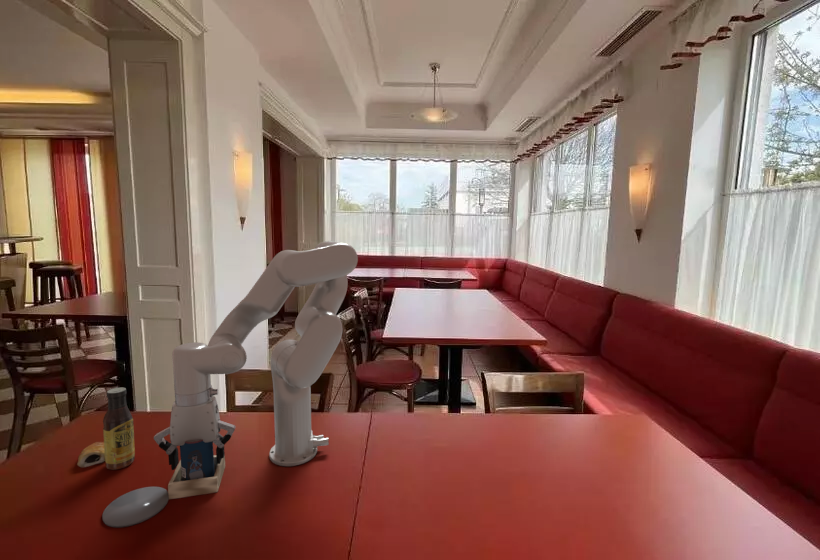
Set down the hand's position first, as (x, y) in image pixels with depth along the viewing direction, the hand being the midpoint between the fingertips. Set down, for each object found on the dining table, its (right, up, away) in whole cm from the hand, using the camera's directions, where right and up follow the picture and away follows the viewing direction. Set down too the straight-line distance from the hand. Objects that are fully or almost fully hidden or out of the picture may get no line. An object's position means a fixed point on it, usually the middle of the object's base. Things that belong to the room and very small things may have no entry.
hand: (197, 463), depth 95 cm
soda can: (0, -5, +1) cm, 5 cm away
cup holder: (0, -5, +1) cm, 5 cm away
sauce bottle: (-24, -4, +7) cm, 25 cm away
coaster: (-9, -6, -8) cm, 13 cm away
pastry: (-32, -3, +10) cm, 34 cm away
